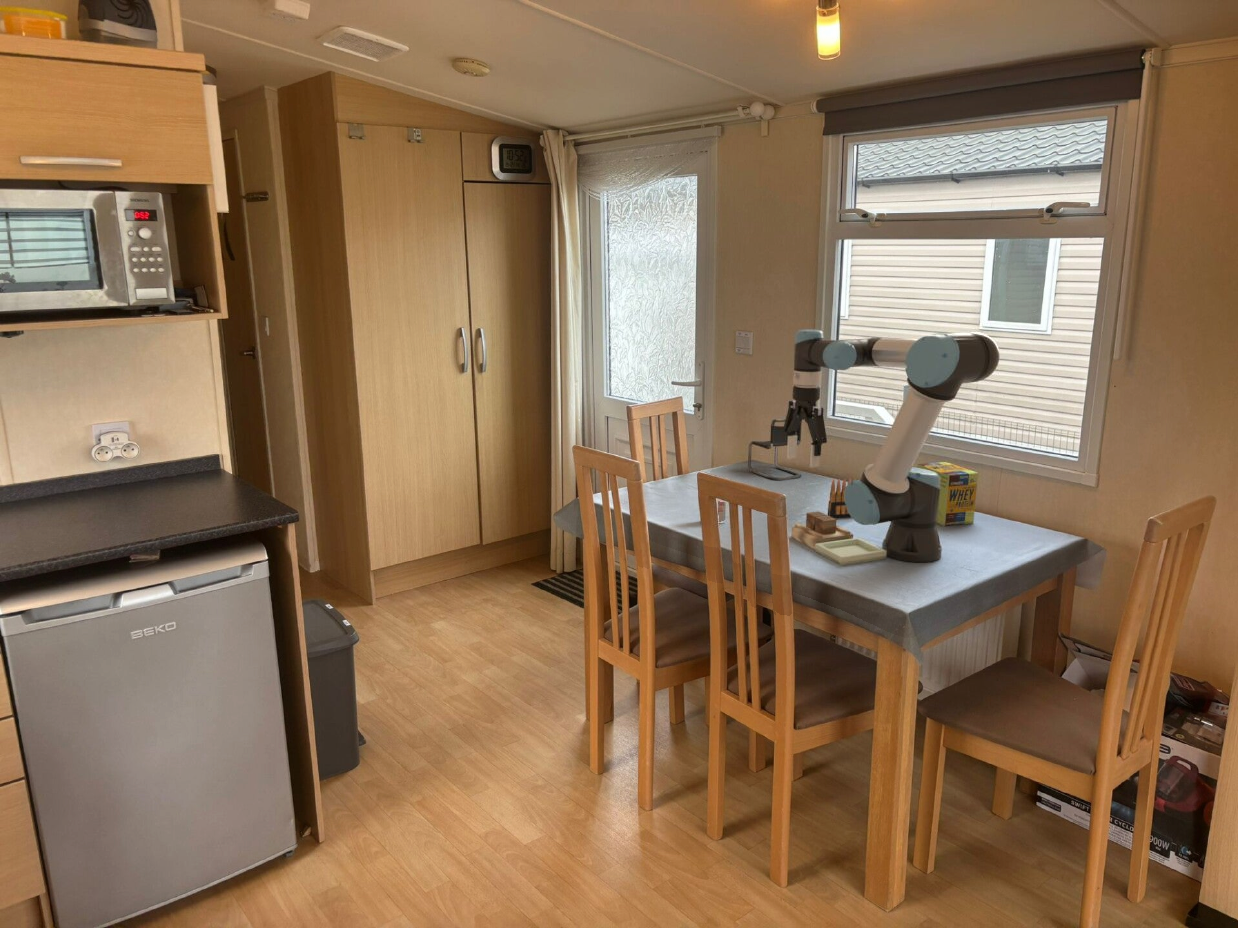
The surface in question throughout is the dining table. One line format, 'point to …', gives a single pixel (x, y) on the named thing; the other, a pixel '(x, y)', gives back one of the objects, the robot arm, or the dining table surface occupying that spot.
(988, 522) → the dining table surface
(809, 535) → the slot board
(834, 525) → the walnut block front
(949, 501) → the protein box
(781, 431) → the chair
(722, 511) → the tea bag
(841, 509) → the ammunition clip
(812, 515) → the walnut block rear
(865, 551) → the sage tray
